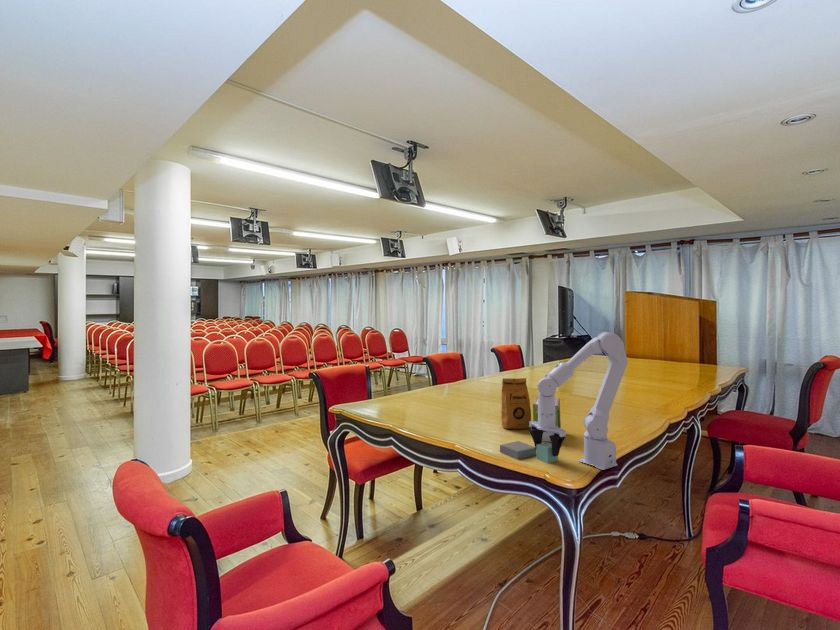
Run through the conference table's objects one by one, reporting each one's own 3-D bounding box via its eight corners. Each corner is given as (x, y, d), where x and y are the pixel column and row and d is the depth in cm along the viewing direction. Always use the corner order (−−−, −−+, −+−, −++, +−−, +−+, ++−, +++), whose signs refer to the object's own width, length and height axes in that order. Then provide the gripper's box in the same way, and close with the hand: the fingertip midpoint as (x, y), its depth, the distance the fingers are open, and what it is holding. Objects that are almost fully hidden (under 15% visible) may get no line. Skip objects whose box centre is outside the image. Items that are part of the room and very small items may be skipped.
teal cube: (557, 460, 140) (557, 446, 140) (547, 463, 138) (547, 448, 138) (546, 456, 145) (546, 442, 145) (536, 458, 142) (536, 444, 142)
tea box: (536, 430, 177) (536, 395, 177) (561, 432, 173) (560, 397, 173) (532, 440, 163) (532, 403, 163) (559, 442, 159) (559, 404, 159)
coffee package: (533, 430, 176) (532, 379, 176) (504, 430, 176) (503, 379, 176) (527, 424, 186) (527, 376, 186) (500, 424, 186) (499, 376, 186)
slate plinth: (536, 454, 146) (536, 447, 146) (517, 459, 142) (517, 451, 142) (518, 447, 154) (518, 440, 154) (500, 451, 149) (499, 444, 149)
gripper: (522, 410, 145) (523, 448, 145) (555, 419, 133) (555, 461, 133) (537, 407, 149) (537, 445, 149) (569, 416, 136) (570, 457, 136)
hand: (546, 452), depth 141 cm, fingers open, 7 cm apart
